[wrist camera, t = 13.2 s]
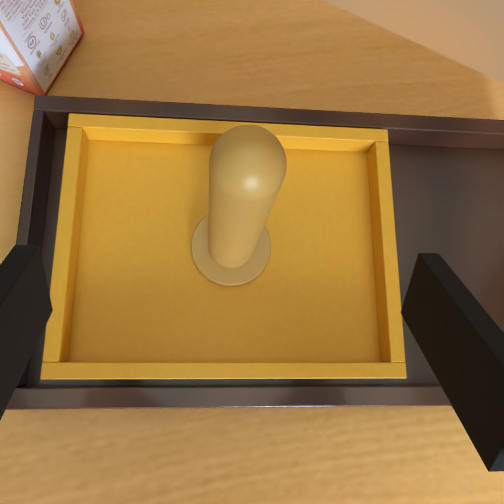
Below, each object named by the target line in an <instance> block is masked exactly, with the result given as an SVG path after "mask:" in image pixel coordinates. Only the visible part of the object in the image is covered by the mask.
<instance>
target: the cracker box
mask: <svg viewBox="0 0 504 504" xmlns="http://www.w3.org/2000/svg"><path fill="white" fill-rule="evenodd" d="M83 33H84V30H83V27H82V24H81V22H80V19H79V16H78V14H77V11H76V8H75V5H74V3H73V1H72V0H0V79H1V80H3V81H6V82H8V83H10V84H13V85H15V86H17V87H19V88H22V89H24V90H26V91H28V92H31V93H33V94H36V95H45V94H46V93H47V91H48V90H49V88H50V86H51V85H52V83H53V82H54V80H55V78H56V77H57V75H58V74H59V72H60V70H61V69H62V67H63V66H64V64H65V62H66V61H67V59H68V58H69V56H70V54H71V53H72V51H73V49H74V48H75V46H76V45H77V43H78V41H79V40H80V38H81V37H82V35H83Z"/></svg>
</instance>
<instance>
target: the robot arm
mask: <svg viewBox="0 0 504 504" xmlns="http://www.w3.org/2000/svg"><path fill="white" fill-rule="evenodd" d="M52 312H53V308H52V304H51V299H50V294H49V289H48V284H47V280H46V275H45V270H44V265H43V260H42V256H41V251H40V246H39V245H15V246H14V247H13V249H12V250H11V251H10V253H9V254H8V255H7V257H6V258H5V260H4V261H3V262H2V264H1V265H0V420H1V418H2V416H3V413H4V411H5V409H6V407H7V405H8V403H9V401H10V399H11V397H12V395H13V393H14V391H15V388H16V386H17V384H18V382H19V380H20V378H21V376H22V374H23V372H24V370H25V368H26V366H27V364H28V361H29V359H30V357H31V355H32V353H33V351H34V349H35V347H36V345H37V343H38V341H39V339H40V337H41V334H42V332H43V330H44V328H45V326H46V324H47V322H48V320H49V318H50V316H51V314H52ZM400 313H401V315H402V317H403V318H404V320H405V322H406V324H407V326H408V327H409V329H410V331H411V333H412V335H413V336H414V338H415V340H416V342H417V344H418V345H419V347H420V349H421V351H422V353H423V354H424V356H425V358H426V360H427V362H428V363H429V365H430V367H431V369H432V371H433V372H434V374H435V376H436V378H437V380H438V381H439V383H440V385H441V387H442V389H443V390H444V392H445V394H446V396H447V398H448V399H449V401H450V403H451V405H452V407H453V408H454V410H455V412H456V414H457V416H458V417H459V419H460V421H461V423H462V425H463V427H464V428H465V430H466V432H467V434H468V436H469V437H470V439H471V441H472V443H473V445H474V446H475V448H476V450H477V452H478V454H479V455H480V457H481V459H482V461H483V463H484V464H485V466H486V468H487V470H488V471H504V331H502V330H501V329H500V328H499V327H498V325H497V324H496V323H495V322H494V320H493V319H492V318H491V317H490V315H489V314H488V313H487V312H486V311H485V309H484V308H483V307H482V306H481V304H480V303H479V302H478V301H477V299H476V298H475V297H474V296H473V295H472V293H471V292H470V291H469V290H468V288H467V287H466V286H465V285H464V284H463V282H462V281H461V280H460V279H459V277H458V276H457V275H456V274H455V272H454V271H453V270H452V269H451V268H450V266H449V265H448V264H447V263H446V261H445V260H444V259H443V258H442V256H441V255H440V254H439V253H418V256H417V260H416V263H415V266H414V270H413V273H412V276H411V279H410V283H409V286H408V289H407V293H406V296H405V299H404V302H403V306H402V309H401V312H400Z"/></svg>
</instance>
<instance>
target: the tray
mask: <svg viewBox="0 0 504 504" xmlns="http://www.w3.org/2000/svg"><path fill="white" fill-rule="evenodd" d="M50 299H51V304H52V308H53V312H52V314H51V316H50V318H49V320H48V322H47V324H46V333H45V342H44V351H43V362H42V368H41V377H40V378H41V379H366V378H407V375H406V363H405V350H404V337H403V324H402V315H401V313H400V312H401V298H400V286H399V273H398V260H397V247H396V234H395V221H394V208H393V196H392V183H391V170H390V157H389V144H388V130H387V129H368V128H348V127H328V126H308V125H289V124H269V123H249V122H230V121H210V120H190V119H170V118H151V117H131V116H111V115H92V114H72V113H70V114H69V118H68V129H67V139H66V148H65V157H64V166H63V176H62V185H61V194H60V203H59V213H58V222H57V231H56V240H55V250H54V259H53V268H52V277H51V287H50Z"/></svg>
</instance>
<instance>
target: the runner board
mask: <svg viewBox="0 0 504 504" xmlns="http://www.w3.org/2000/svg"><path fill="white" fill-rule="evenodd" d="M70 113H72V114H92V115H111V116H131V117H151V118H170V119H190V120H210V121H230V122H249V123H269V124H289V125H308V126H328V127H348V128H368V129H387V130H388V144H389V157H390V170H391V183H392V196H393V208H394V221H395V234H396V247H397V260H398V273H399V286H400V298H401V309H402V306H403V302H404V299H405V296H406V293H407V289H408V286H409V283H410V279H411V276H412V273H413V270H414V266H415V263H416V260H417V256H418V253H439V254H440V255H441V256H442V258H443V259H444V260H445V261H446V263H447V264H448V265H449V266H450V268H451V269H452V270H453V271H454V272H455V274H456V275H457V276H458V277H459V279H460V280H461V281H462V282H463V284H464V285H465V286H466V287H467V288H468V290H469V291H470V292H471V293H472V295H473V296H474V297H475V298H476V299H477V301H478V302H479V303H480V304H481V306H482V307H483V308H484V309H485V311H486V312H487V313H488V314H489V315H490V317H491V318H492V319H493V320H494V322H495V323H496V324H497V325H498V327H499V328H500V329H501V330H502V331H504V120H490V119H472V118H453V117H435V116H416V115H398V114H379V113H361V112H342V111H324V110H305V109H287V108H268V107H250V106H231V105H213V104H194V103H176V102H157V101H139V100H120V99H102V98H83V97H65V96H46V95H36V96H35V102H34V111H33V117H32V125H31V132H30V140H29V148H28V156H27V163H26V171H25V179H24V187H23V194H22V202H21V210H20V217H19V225H18V233H17V241H16V245H39V246H40V251H41V256H42V260H43V265H44V270H45V275H46V280H47V284H48V289H49V294H50V287H51V277H52V268H53V259H54V250H55V240H56V231H57V222H58V213H59V203H60V194H61V185H62V176H63V166H64V157H65V148H66V139H67V129H68V118H69V114H70ZM402 324H403V337H404V350H405V363H406V375H407V378H366V379H41V378H40V377H41V368H42V362H43V351H44V342H45V333H46V326H45V328H44V330H43V332H42V334H41V337H40V339H39V341H38V343H37V345H36V347H35V349H34V351H33V353H32V355H31V357H30V359H29V361H28V364H27V366H26V368H25V370H24V372H23V374H22V376H21V378H20V380H19V382H18V384H17V386H16V388H15V391H14V393H13V395H12V397H11V399H10V401H9V403H8V405H7V407H6V409H5V410H14V409H127V408H240V407H354V406H452V405H451V403H450V401H449V399H448V398H447V396H446V394H445V392H444V390H443V389H442V387H441V385H440V383H439V381H438V380H437V378H436V376H435V374H434V372H433V371H432V369H431V367H430V365H429V363H428V362H427V360H426V358H425V356H424V354H423V353H422V351H421V349H420V347H419V345H418V344H417V342H416V340H415V338H414V336H413V335H412V333H411V331H410V329H409V327H408V326H407V324H406V322H405V320H404V318H403V317H402Z"/></svg>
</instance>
